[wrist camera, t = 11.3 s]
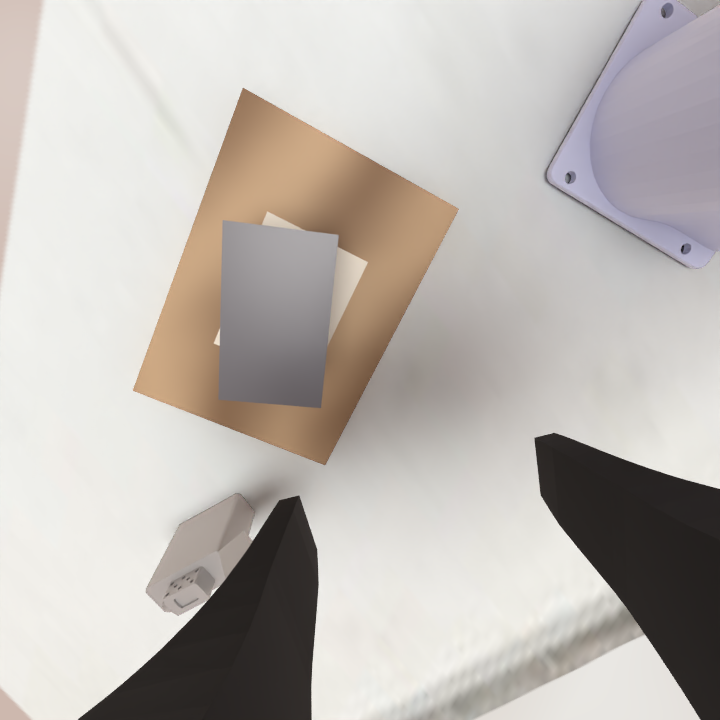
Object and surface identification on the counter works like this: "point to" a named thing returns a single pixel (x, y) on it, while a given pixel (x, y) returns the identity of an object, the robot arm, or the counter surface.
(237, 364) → the block
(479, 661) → the counter surface
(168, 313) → the board
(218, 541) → the lighter
